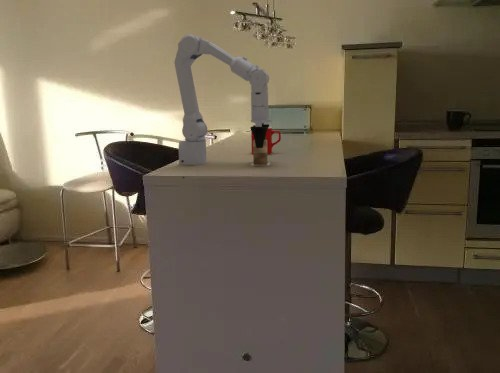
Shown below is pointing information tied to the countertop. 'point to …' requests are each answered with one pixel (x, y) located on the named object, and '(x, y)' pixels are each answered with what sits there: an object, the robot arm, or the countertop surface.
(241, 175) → the countertop surface
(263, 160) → the walnut block
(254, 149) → the beech block
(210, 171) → the countertop surface
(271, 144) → the mug
